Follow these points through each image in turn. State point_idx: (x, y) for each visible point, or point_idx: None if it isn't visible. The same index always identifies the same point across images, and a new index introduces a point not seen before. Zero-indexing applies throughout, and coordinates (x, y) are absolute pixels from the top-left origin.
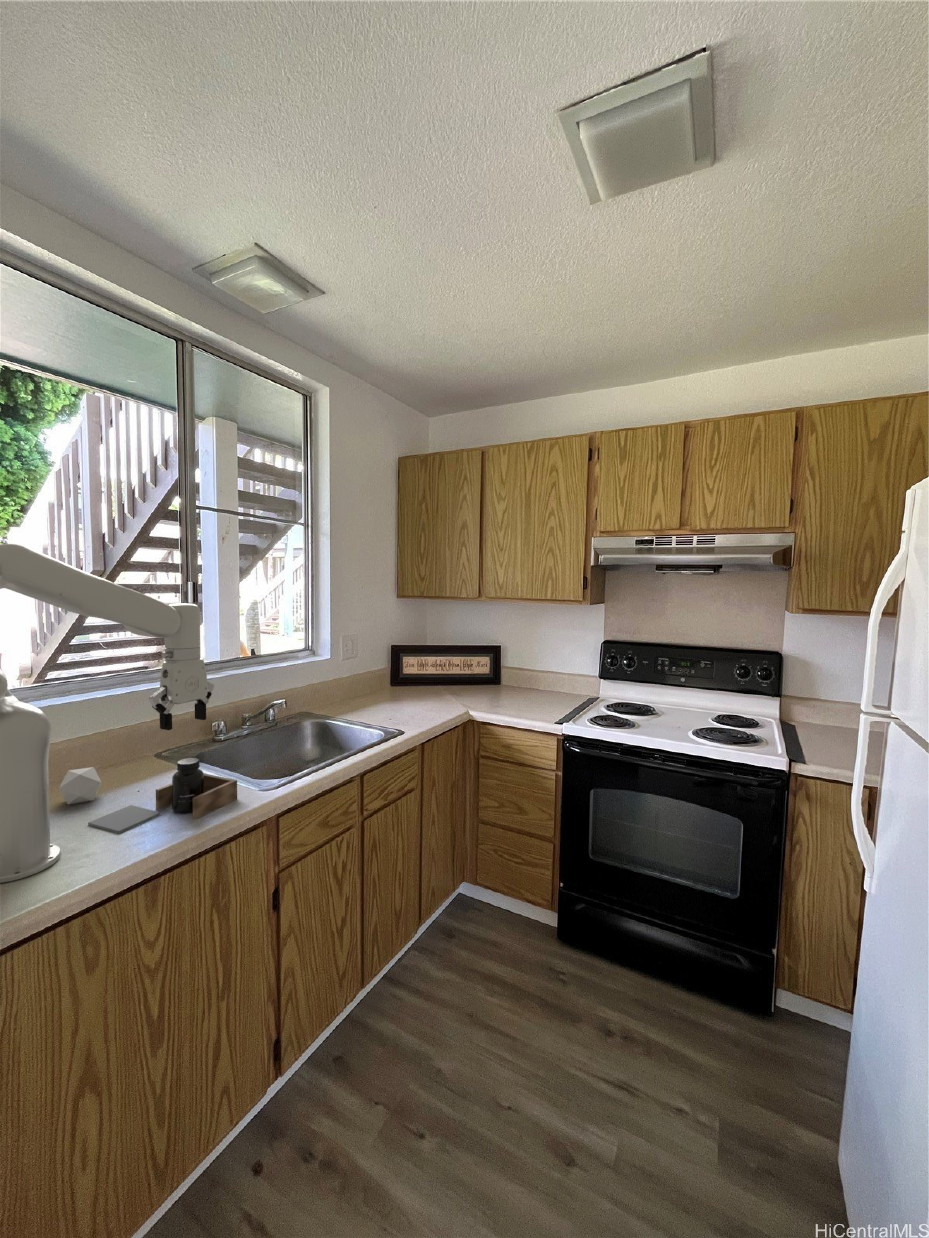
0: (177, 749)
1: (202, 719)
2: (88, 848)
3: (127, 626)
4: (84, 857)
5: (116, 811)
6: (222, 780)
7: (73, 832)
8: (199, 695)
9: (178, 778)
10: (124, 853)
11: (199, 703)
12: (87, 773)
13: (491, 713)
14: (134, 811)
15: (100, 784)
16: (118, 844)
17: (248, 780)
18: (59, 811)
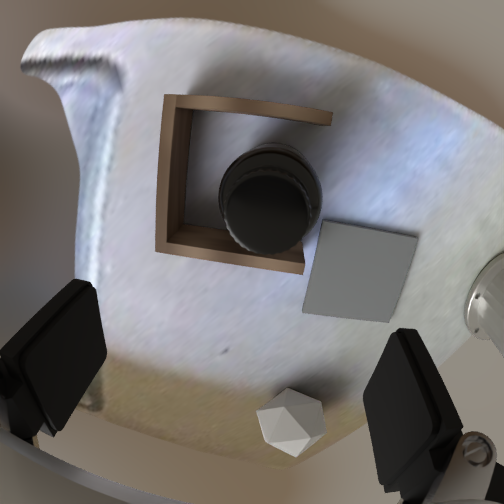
0: None
1: (96, 295)
2: (465, 243)
3: None
4: (488, 224)
5: (337, 315)
6: (173, 143)
7: (414, 317)
8: (2, 495)
9: (319, 201)
10: (475, 164)
11: (32, 408)
12: (293, 434)
13: None
14: (331, 281)
15: (264, 407)
16: (451, 202)
17: (83, 162)
18: (339, 395)
